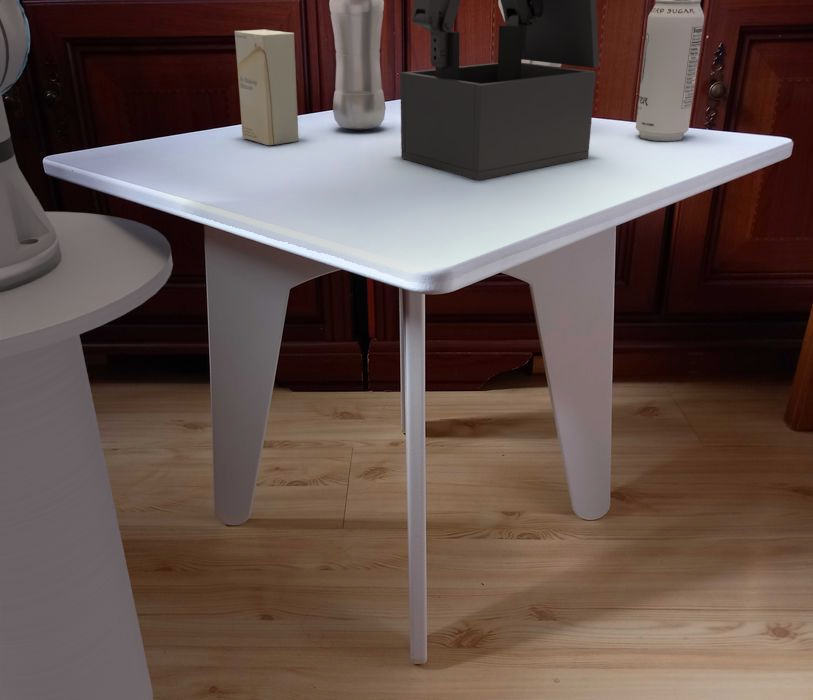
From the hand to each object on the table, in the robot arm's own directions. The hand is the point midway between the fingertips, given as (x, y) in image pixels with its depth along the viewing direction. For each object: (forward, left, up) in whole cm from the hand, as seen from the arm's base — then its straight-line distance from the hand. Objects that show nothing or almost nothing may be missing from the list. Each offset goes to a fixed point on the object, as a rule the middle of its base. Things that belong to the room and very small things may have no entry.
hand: (478, 96), depth 82 cm
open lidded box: (+2, 0, -7) cm, 7 cm away
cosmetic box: (-12, +24, -7) cm, 27 cm away
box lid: (+8, 0, +11) cm, 13 cm away
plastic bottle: (0, +23, -7) cm, 24 cm away
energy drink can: (+25, -4, -7) cm, 27 cm away
